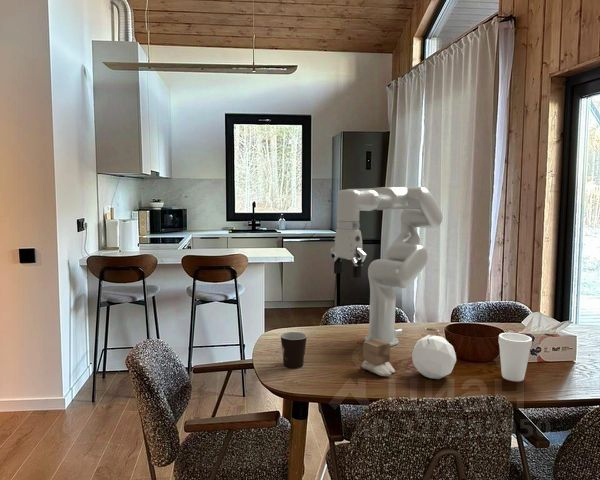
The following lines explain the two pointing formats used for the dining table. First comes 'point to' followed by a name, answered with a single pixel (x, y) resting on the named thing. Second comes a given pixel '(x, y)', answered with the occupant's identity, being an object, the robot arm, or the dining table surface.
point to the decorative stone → (379, 368)
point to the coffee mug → (293, 349)
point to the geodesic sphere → (434, 356)
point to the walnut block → (376, 351)
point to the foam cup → (514, 355)
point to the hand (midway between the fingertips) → (347, 275)
